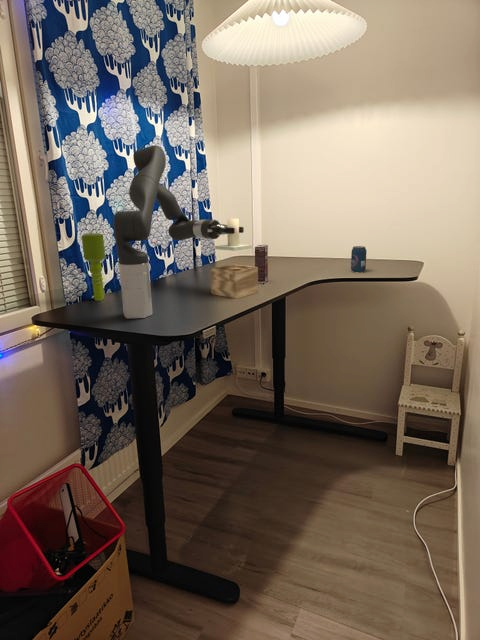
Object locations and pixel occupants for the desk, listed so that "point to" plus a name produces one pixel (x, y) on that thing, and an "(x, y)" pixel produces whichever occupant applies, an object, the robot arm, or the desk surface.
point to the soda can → (358, 259)
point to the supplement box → (262, 262)
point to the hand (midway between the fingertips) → (238, 230)
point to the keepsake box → (234, 280)
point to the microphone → (95, 260)
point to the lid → (233, 238)
